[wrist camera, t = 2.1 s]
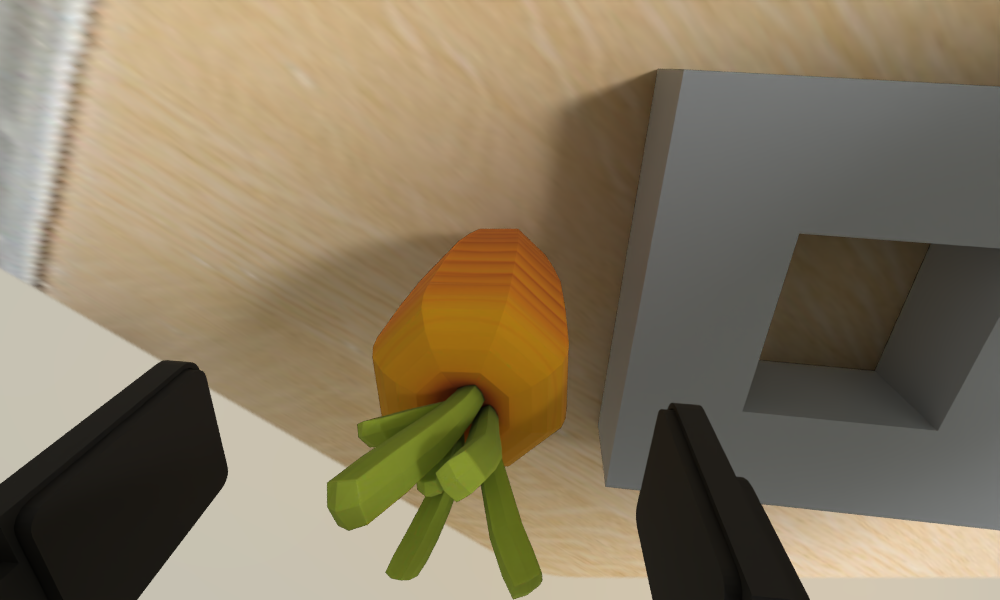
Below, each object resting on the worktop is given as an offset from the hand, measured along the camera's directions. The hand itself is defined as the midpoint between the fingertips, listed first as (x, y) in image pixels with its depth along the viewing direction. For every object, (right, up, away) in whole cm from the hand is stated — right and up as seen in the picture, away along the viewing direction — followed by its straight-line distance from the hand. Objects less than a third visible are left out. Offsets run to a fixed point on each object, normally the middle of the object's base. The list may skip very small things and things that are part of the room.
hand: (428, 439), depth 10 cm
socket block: (+15, +3, +10) cm, 18 cm away
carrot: (+2, +5, +11) cm, 12 cm away
